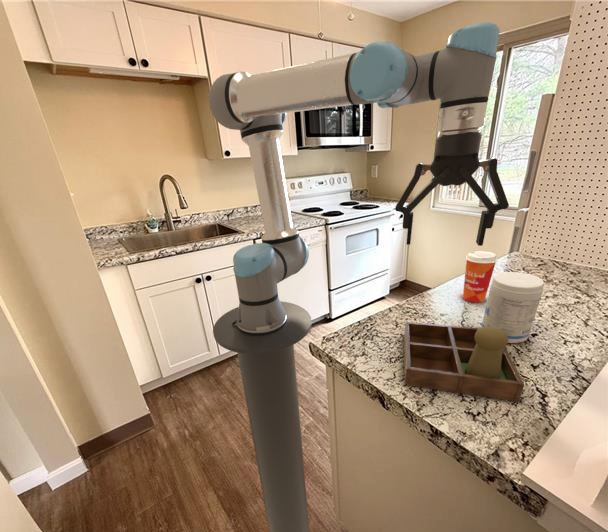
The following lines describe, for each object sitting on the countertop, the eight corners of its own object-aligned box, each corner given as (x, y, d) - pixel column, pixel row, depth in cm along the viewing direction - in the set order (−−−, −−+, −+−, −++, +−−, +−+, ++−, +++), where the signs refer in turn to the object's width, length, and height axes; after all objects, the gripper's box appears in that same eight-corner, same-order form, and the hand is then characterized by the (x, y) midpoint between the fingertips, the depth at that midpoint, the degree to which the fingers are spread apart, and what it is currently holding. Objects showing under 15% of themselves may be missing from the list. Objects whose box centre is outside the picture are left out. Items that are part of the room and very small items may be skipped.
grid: (404, 384, 64) (406, 368, 62) (404, 335, 80) (405, 321, 78) (519, 402, 57) (524, 384, 55) (493, 344, 73) (496, 329, 71)
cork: (494, 369, 64) (506, 323, 59) (504, 388, 59) (518, 340, 54) (461, 366, 66) (470, 321, 61) (468, 384, 61) (478, 337, 56)
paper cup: (453, 296, 96) (460, 253, 90) (472, 291, 98) (480, 248, 92) (475, 306, 89) (484, 260, 84) (495, 300, 91) (505, 255, 86)
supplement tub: (479, 321, 82) (490, 269, 76) (523, 327, 78) (539, 272, 72) (482, 341, 74) (495, 285, 68) (532, 348, 70) (550, 288, 64)
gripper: (387, 140, 59) (380, 247, 68) (550, 123, 50) (517, 249, 59) (389, 139, 65) (382, 238, 75) (534, 125, 56) (507, 239, 65)
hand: (442, 243), depth 67 cm, fingers open, 13 cm apart
